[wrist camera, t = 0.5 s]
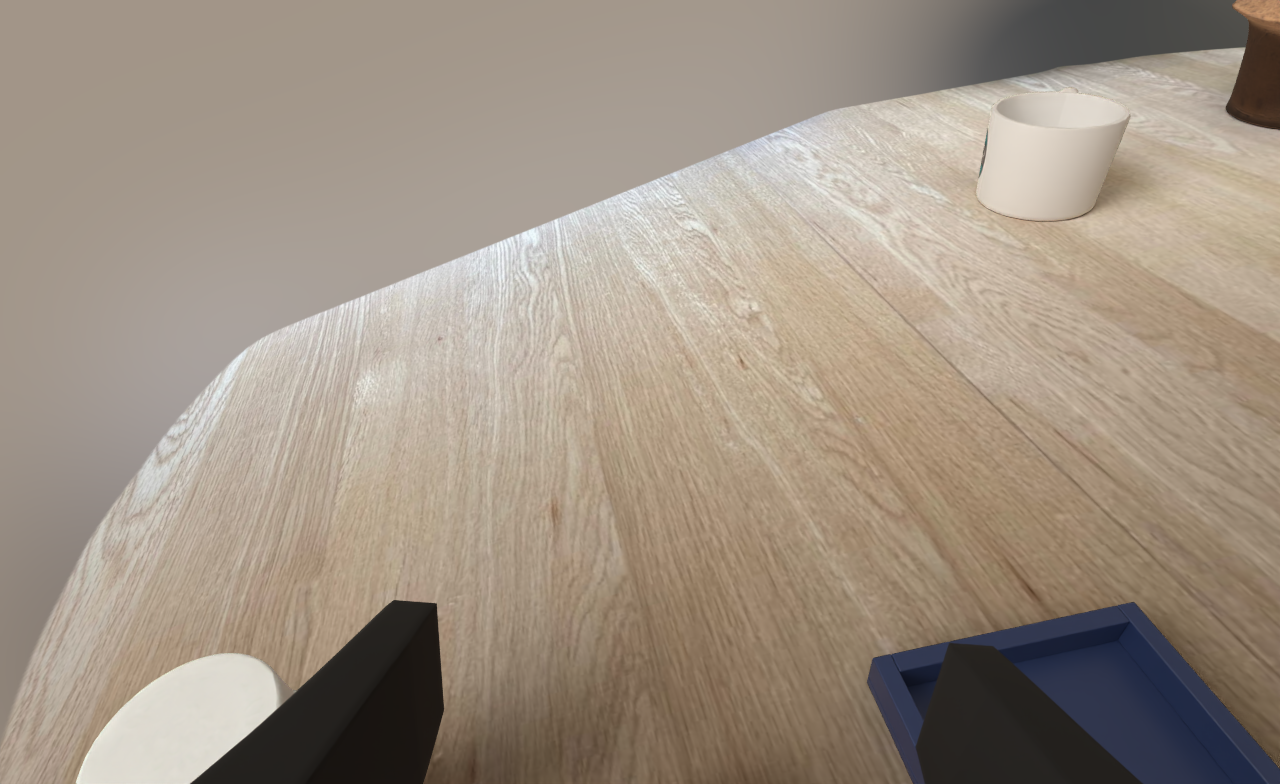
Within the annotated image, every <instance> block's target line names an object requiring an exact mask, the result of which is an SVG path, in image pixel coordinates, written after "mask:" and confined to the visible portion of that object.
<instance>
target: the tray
mask: <svg viewBox="0 0 1280 784" xmlns="http://www.w3.org/2000/svg"><path fill="white" fill-rule="evenodd" d="M949 643H959V644H972V645H985V646H993V647H995V648H996V649H997V650H998V651H999V652H1000V653H1002V654H1003V655H1004V656H1005V657H1006V658H1007V659H1008V660H1009V661H1011V662H1012V663H1013V664H1014V665H1015V666H1016V667H1017V668H1018V669H1019V670H1021V671H1022V672H1023V673H1024V674H1025V675H1026V676H1027V677H1028V678H1029V679H1030V680H1031V681H1032V682H1034V683H1035V684H1036V685H1037V686H1038V687H1039V688H1040V689H1041V690H1042V691H1043V692H1044V693H1045V694H1046V695H1047V696H1049V697H1050V698H1051V699H1052V700H1053V701H1054V702H1055V703H1056V704H1057V705H1058V706H1059V707H1060V708H1061V709H1062V710H1064V711H1065V712H1066V713H1067V714H1068V715H1069V716H1070V717H1071V718H1072V719H1073V720H1074V721H1075V722H1076V723H1077V724H1079V725H1080V726H1081V727H1082V728H1083V729H1084V730H1085V731H1086V732H1087V733H1088V734H1089V735H1090V736H1091V737H1093V738H1094V739H1095V740H1096V741H1097V742H1098V743H1099V744H1100V745H1101V746H1102V747H1103V748H1104V749H1106V750H1107V751H1108V752H1109V753H1110V754H1111V755H1112V756H1113V757H1114V758H1115V759H1116V760H1118V761H1119V762H1120V763H1121V764H1122V765H1123V766H1124V767H1125V768H1126V769H1127V770H1129V771H1130V772H1131V773H1132V774H1133V775H1134V776H1135V777H1136V778H1137V779H1138V780H1140V781H1141V782H1142V783H1143V784H1280V769H1279V768H1278V766H1277V765H1276V764H1275V763H1274V762H1273V761H1272V760H1271V758H1270V757H1269V756H1268V755H1267V754H1266V753H1265V752H1264V750H1263V749H1262V748H1261V747H1260V746H1259V745H1258V744H1257V742H1256V741H1255V740H1254V739H1253V738H1252V737H1251V735H1250V734H1249V733H1248V732H1247V731H1246V730H1245V729H1244V727H1243V726H1242V725H1241V724H1240V723H1239V722H1238V721H1237V719H1236V718H1235V717H1234V716H1233V715H1232V714H1231V713H1230V711H1229V710H1228V709H1227V708H1226V707H1225V706H1224V705H1223V703H1222V702H1221V701H1220V700H1219V699H1218V698H1217V696H1216V695H1215V694H1214V693H1213V692H1212V691H1211V690H1210V688H1209V687H1208V686H1207V685H1206V684H1205V683H1204V682H1203V680H1202V679H1201V678H1200V677H1199V676H1198V675H1197V674H1196V672H1195V671H1194V670H1193V669H1192V668H1191V667H1190V666H1189V664H1188V663H1187V662H1186V661H1185V660H1184V659H1183V657H1182V656H1181V655H1180V654H1179V653H1178V652H1177V651H1176V649H1175V648H1174V647H1173V646H1172V645H1171V644H1170V643H1169V641H1168V640H1167V639H1166V638H1165V637H1164V636H1163V635H1162V633H1161V632H1160V631H1159V630H1158V629H1157V628H1156V626H1155V625H1154V624H1153V623H1152V622H1151V621H1150V620H1149V618H1148V617H1147V616H1146V615H1145V614H1144V613H1143V612H1142V610H1141V609H1140V608H1139V607H1138V606H1137V605H1136V604H1135V603H1134V602H1131V603H1126V604H1121V605H1118V606H1112V607H1108V608H1103V609H1098V610H1094V611H1089V612H1085V613H1080V614H1075V615H1071V616H1066V617H1061V618H1057V619H1052V620H1047V621H1043V622H1038V623H1033V624H1029V625H1024V626H1019V627H1015V628H1010V629H1006V630H1001V631H996V632H992V633H987V634H982V635H978V636H973V637H968V638H964V639H959V640H954V641H950V642H945V643H940V644H936V645H931V646H927V647H922V648H917V649H913V650H908V651H903V652H899V653H894V654H892V655H890V654H889V655H884V656H880V657H875V658H873V660H872V664H871V668H870V672H869V677H868V680H867V683H868V685H869V687H870V690H871V692H872V694H873V696H874V698H875V701H876V703H877V705H878V707H879V709H880V712H881V714H882V716H883V718H884V720H885V723H886V725H887V727H888V729H889V731H890V733H891V736H892V738H893V740H894V742H895V744H896V747H897V749H898V751H899V753H900V755H901V758H902V760H903V762H904V764H905V766H906V769H907V771H908V773H909V775H910V777H911V779H912V782H913V784H925V783H924V779H923V775H922V771H921V767H920V763H919V759H918V755H917V751H916V744H917V741H918V738H919V734H920V731H921V728H922V725H923V722H924V719H925V716H926V713H927V710H928V707H929V704H930V700H931V697H932V694H933V691H934V688H935V685H936V682H937V679H938V676H939V673H940V670H941V667H942V663H943V660H944V657H945V654H946V651H947V648H948V645H949Z"/></svg>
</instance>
